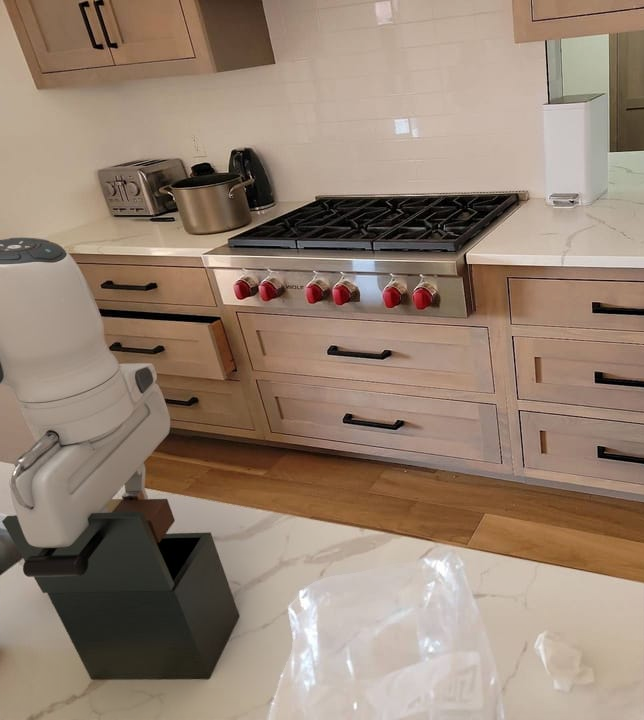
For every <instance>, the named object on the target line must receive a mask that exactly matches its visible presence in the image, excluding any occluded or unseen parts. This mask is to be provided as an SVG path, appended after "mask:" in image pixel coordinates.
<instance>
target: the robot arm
mask: <svg viewBox="0 0 644 720" xmlns="http://www.w3.org/2000/svg"><path fill="white" fill-rule="evenodd" d="M157 379H158V375H157V371H156V368H155V365H154V364H153V363H149V362H148V363H147V362H135V363H134V362H130V363H129V362H128V363H119V361H118V359H117V358H116V356H115V355H114V354H113V353H112V351H111V350H110V348H109V347H108V344H107V341H106V338H105V324H104V320H103V317H102V314H101V313H100V310H99V307H98V304H97V302H96V299H95V297H94V295H93V293H92V290H91V288H90V286H89V284H88V282H87V279H86V277H85V276H84V273H83V272H82V270H81V268H80V267H79V265H78V263H77V262H76V260H75V259H74V258H73V256H72V255H71V254H70V253H69V252H68V251H67V250H66V249H65V248H64V247H63V246H62V245H60V244H59V243H56V242H53V241H50V240H47V239H44V238H43V239H42V238H36V237H9V238H4V239H0V386H4V387H8V388H9V389H10V390H11V391H12V393H13V395H14V397H15V400H16V402H17V404H18V407H19V408H20V411H21V413H22V415H23V418H24V419H25V422H26V424H27V426H28V428H29V430H30V433H31V434H32V438H33V439H34V440H35V441H36V442H35V443H34V444H33V445H32V446H31V447H30V448H29V449H28V450H27V451H24V452H23V453H22V454H21V455H19V456H18V457H17V459H16V460H15V461H14V469H13V471H12V473H11V478H10V479H9V481H8V485H9V488H10V495H11V500H12V504H13V508H14V511H15V514H16V515H17V517H18V520H19V523H20V526H21V529H22V531H23V534H24V536H25V538H26V540H27V542H28V543H29V544H30V545H32V546H35V547H39V548H61V547H68V546H70V545H72V544H73V543H74V542H75V541H76V539H77V538H78V537H79V536H80V535H81V534H82V532H83V531H84V530H85V529H86V528H87V527H88V526H89V522H88V517H89V516H90V515H91V514H92V513H108V511H109V510H108V507H107V504H108V503H109V502H110V500H111V499H114V497H115V496H116V495H117V494H118V492H120V490H121V489H122V488H123V487H124V493H123V494H122V495H121V499H123V500H136V499H149V497H148V494H147V491H146V489H145V487H146V472H147V470H146V469H147V468H146V465H145V463H144V462H145V461H146V460H147V459H148V458H149V457H150V456H151V455H152V453H153V452H155V451H156V449H157V448H158V447H159V445H161V443H162V442H163V441H164V440H165V439H166V438H167V437H168V435H169V434H170V430H171V417H170V412H169V409H168V406H167V403H166V399H165V397H164V395H163V392H162V390H161V387H160V386H159V385H158V384H157V383H156V381H157Z"/></svg>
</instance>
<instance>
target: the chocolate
mask: <svg viewBox="0 0 644 720" xmlns="http://www.w3.org/2000/svg"><path fill="white" fill-rule="evenodd" d="M107 507H108V510H109V511H108V513H111V512H143V513H144V516H145V518H146V520H147V523H148V525H149V527H150V529H151V532H152V534H153V536H154V539H155V541H156V543H160V541H161V540H162V538H163V537H164V536H165V534H168V532H169V530H170V529H171V527H172V525H173V524H174V523H175V517H174V514H173V511H172V508H171V505H170V503H169V499H168V498H148V499H136V500H123V498H112V499H111V500H110V502H109V503H108V504H107Z"/></svg>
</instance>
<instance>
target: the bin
mask: <svg viewBox="0 0 644 720" xmlns="http://www.w3.org/2000/svg"><path fill="white" fill-rule="evenodd" d="M157 545H158V548H159V550H160V552H161V555H162V557H163V559H164V561H165V564H166V566H167V568H168V571H169V573H170V575H171V577H172V580H173V582H174V586H173V588H172V590H171V591H119V592H65V593H46V594H47V596H48V598H49V600H50V602H51V604H52V606H53V607H54V609H55V611H56V613H57V616H58V617H59V619H60V621H61V624H62V625H63V627H64V629H65V631H66V633H67V635H68V637H69V639H70V640H71V643H72V645H73V647H74V649H75V650H76V653H77V655H78V656H79V658H80V660H81V662H82V664H83V666H84V669H85V670H86V673H87V674H88V676H89V678H90V680H210V678H211V676H212V674H213V672H214V670H215V668H216V666H217V664H218V661H219V659H220V658H221V655H222V654H223V651H224V649H225V647H226V645H227V643H228V642H229V639H230V637H231V635H232V633H233V631H234V629H235V627H236V625H237V623H238V621H239V618H240V613H239V610H238V607H237V604H236V601H235V598H234V595H233V592H232V589H231V587H230V584H229V581H228V578H227V574H226V572H225V570H224V566H223V564H222V561H221V558H220V554H219V552H218V549H217V547H216V543H215V541H214V538H213V534H212V533H211V532H208V531H207V532H179V533H177V532H176V533H166V534H165V536H164V537H163V538H162V540H161V541H160V543H157Z"/></svg>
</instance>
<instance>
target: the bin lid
mask: <svg viewBox="0 0 644 720" xmlns="http://www.w3.org/2000/svg"><path fill="white" fill-rule="evenodd" d="M1 522H2V524H3V526H4V527H5V529H6V531H7V533H8V535H9V536H10V538H11V540H12V543H14V545H15V547H16V549H17V550H18V552H19V554H20V556H21V557H22V559H23V561H24V562H23V566H22V571H23V574H24V575H25V576H26V577H27V578H34V580H35V582H36V584H37V586H38V587H39V589H40V590H41V592H42V594H47V593H65V592H119V591H171V590H172V588H173V586H174V582H173V580H172V577H171V575H170V573H169V571H168V568H167V566H166V564H165V561H164V559H163V557H162V555H161V552H160V550H159V548H158V545H157V543H156V541H155V539H154V536H153V534H152V532H151V529H150V527H149V525H148V523H147V520H146V518H145V516H144V513H143V512H111V513H92V514H91V515H90V516H89V517H88V522H89V526H88V527H87V528H86V529H85V530H84V531H83V532H82V534H81V535H80V536H79V537H78V538H77V539H76V541H75V542H74V543H73V544H72V545H70V546H68V547H61V548H39V547H35V546H32V545H30V544H29V543H28V542H27V540H26V538H25V536H24V534H23V531H22V529H21V526H20V523H19V520H18V517H17V514H16V515H6V516H5V517H4V518H3V520H2V521H1Z"/></svg>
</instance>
